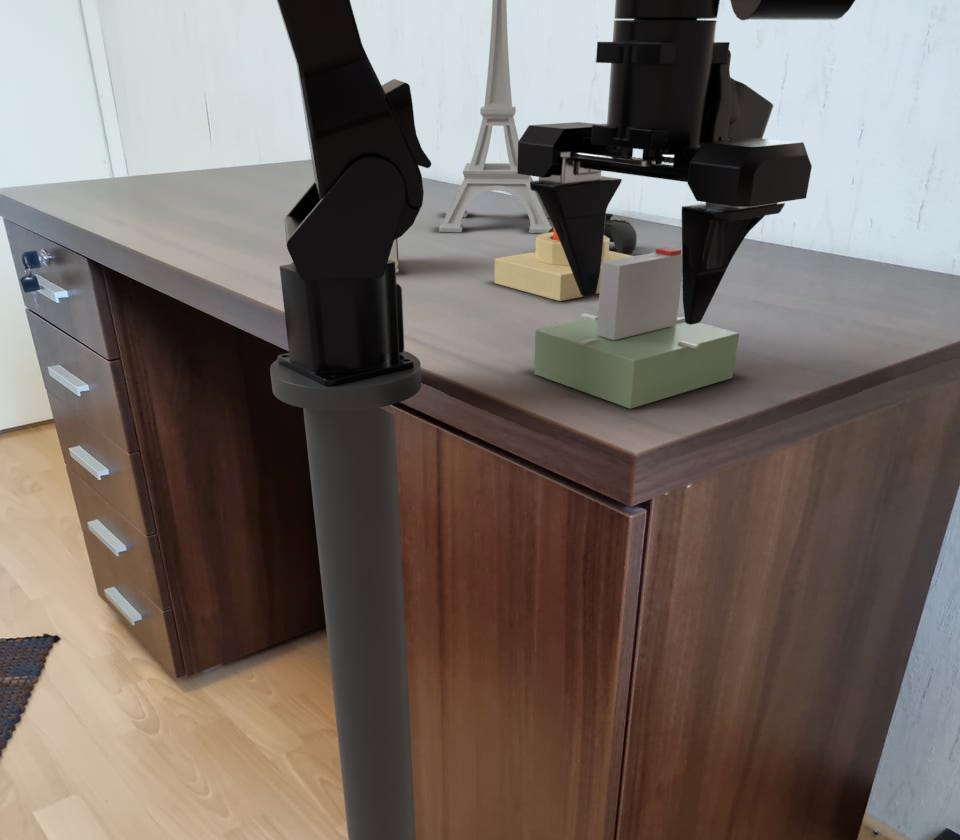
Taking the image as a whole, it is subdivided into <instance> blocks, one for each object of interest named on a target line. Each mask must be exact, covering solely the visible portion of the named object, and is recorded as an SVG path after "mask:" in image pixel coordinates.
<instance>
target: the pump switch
mask: <svg viewBox="0 0 960 840" xmlns="http://www.w3.org/2000/svg"><path fill="white" fill-rule="evenodd" d="M610 243H611V242H610V239H609V238H608V237H606V236H605V235H604V238H603V248H602V258H601V265H602V262H604V261H610V260H616V259H621V258H627V257H633V256H634V255H632V254H631V255H626V254H622V253H618V252H617V251H612V250H610ZM600 279H601V268H600V275H599V280H598V286H597V291H596V294H595V295H598V294H599V293H600ZM494 284H496V285H500V286H503V287H507V288H511V289H514V290H517V291H522V292H525V293H528V294H532V295H536V296H539V297H543V298H546V299H550V300H554V301H557V302H563V301H568V300H573V299H578V298H583V297H584V296H582V295H581V294H580V291H579V288H578V286H577V283H576V281H575V278H574V276H573V273H572V270H571V268H570V265H569V263H568V260H567V258H566V255H565V252H564V250H563V247H562V245H561V242H560V241H557V240H553V232H551V233H540V234H539V235H537V236H535V251H533V252H527V253H521V254H514V255H508V256H502V257H495V258H494ZM584 298H585V297H584Z"/></svg>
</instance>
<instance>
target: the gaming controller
mask: <svg viewBox="0 0 960 840" xmlns="http://www.w3.org/2000/svg"><path fill="white" fill-rule="evenodd" d="M613 217H614V215H613V213H606V217H605V228H604V235H605V236H606V237H608V238H609V239H610V243H613V244H614V247H615V250H616V252H617V253H622V254H626V255H631V256H632V254H633V253H634V251H635V249H636V247H637V240H638V236H637V230H636V229H635V228H634V226H633V225H632V224H631V223H630V222H629V221H626V220H625V219H615V218H614V219H611V218H613ZM551 232H553V227H552V228H551V229H550V230H549V232H548V233H551Z"/></svg>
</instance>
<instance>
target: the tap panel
mask: <svg viewBox="0 0 960 840" xmlns="http://www.w3.org/2000/svg"><path fill="white" fill-rule="evenodd" d="M580 316H581V317H583V318H582V319H578V320H573V321H568V322H563V323H559V324H554V325H550V326H546V327H545V326H544V327H541V328H537V329H535V330H534V331H535V335H534V358H533V359H534V360H533V374H534V375H536V376H539V377H542V378H544V379H547V380H548V381H549V380H550V381H552V382H555V383H558V384H561V385H563V386H566V387H568V388H572V389H575V390H577V391H579V392H583V393H584V394H585V393H586V394H588V395H590V396H594V397H597V398H599V399H602V400H605V401H608V402H610V403H613V404H616V405H619V406H622V407H624V408H627V409H629V410H630V409H635V408H638V407H640V406H644V405H647V404H648V405H649V404H651V403H655V402H657V401H661V400H665V399H667V398H671V397H674V396H677V395H681V394H684V393H688V392H690V391H694V390H697V389H700V388H704V387H707V386H710V385H713V384H717V383H721V382H724V381H727V380H730V379H733V377H734V370H735V364H736V358H737V351H738V345H739V338H740V333H739V332H736V331H732V330H729V329H725V328H721V327H718V326H714V325H709V324H706V323H702V322H699V323H697V324H693V325H689V324H686V322H685V316H681V317H679V316H677V323H676V325H675V326H671V327H667V328H663V329H659V330H654V331H650V332H646V333H642V334H638V335H634V336H630V337H626V338H621V339H617V340H611V339H608V338H604V337H601V336H598V335H597V321H598V315H595V314H590V313H586V312H584V313H581V314H580Z"/></svg>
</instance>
